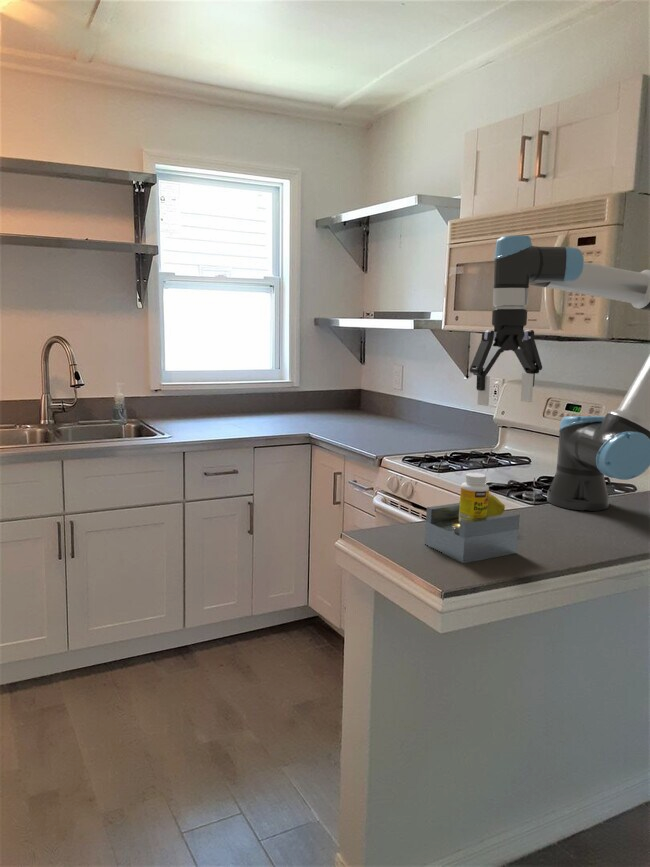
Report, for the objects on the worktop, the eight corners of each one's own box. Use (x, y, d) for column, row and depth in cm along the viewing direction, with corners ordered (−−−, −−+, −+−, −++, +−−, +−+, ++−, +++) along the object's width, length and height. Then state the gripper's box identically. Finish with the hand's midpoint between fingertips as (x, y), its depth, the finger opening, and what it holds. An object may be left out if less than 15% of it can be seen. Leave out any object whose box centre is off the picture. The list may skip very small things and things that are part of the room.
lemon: (449, 522, 156) (451, 489, 155) (468, 516, 161) (471, 484, 160) (489, 534, 148) (492, 499, 147) (508, 527, 154) (511, 493, 152)
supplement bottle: (472, 529, 134) (476, 479, 132) (452, 521, 138) (455, 473, 137) (492, 525, 137) (496, 476, 135) (472, 518, 141) (475, 470, 140)
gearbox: (476, 535, 147) (479, 500, 145) (516, 553, 136) (519, 514, 135) (424, 544, 140) (426, 507, 139) (462, 563, 130) (465, 523, 128)
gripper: (536, 308, 159) (531, 398, 163) (455, 307, 147) (452, 404, 150) (561, 308, 153) (556, 401, 157) (480, 307, 140) (475, 408, 144)
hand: (505, 403), depth 153 cm, fingers open, 13 cm apart
